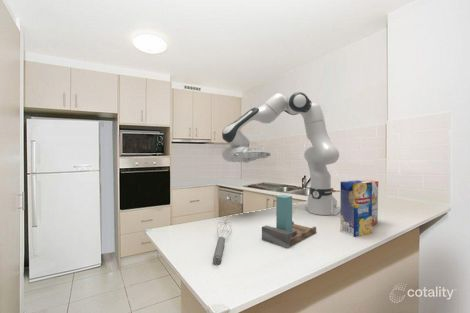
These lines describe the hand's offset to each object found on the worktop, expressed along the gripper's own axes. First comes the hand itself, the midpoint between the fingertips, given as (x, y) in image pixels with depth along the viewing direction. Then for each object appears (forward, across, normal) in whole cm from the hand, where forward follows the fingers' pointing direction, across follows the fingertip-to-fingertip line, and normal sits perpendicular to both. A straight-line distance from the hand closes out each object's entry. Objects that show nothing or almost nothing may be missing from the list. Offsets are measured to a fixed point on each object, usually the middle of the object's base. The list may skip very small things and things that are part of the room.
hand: (264, 154), depth 115 cm
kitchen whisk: (+8, -36, +34) cm, 50 cm away
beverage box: (+39, +14, +34) cm, 54 cm away
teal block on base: (+21, -14, +32) cm, 41 cm away
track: (+21, -9, +34) cm, 41 cm away
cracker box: (+39, +29, +34) cm, 60 cm away
